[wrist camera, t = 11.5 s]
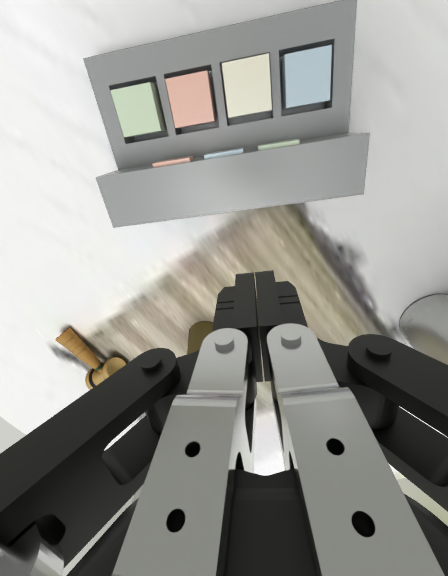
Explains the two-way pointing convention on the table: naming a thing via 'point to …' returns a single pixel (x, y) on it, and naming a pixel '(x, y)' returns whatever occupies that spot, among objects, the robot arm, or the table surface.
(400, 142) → the table surface
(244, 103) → the key cream
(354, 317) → the table surface
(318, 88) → the key blue
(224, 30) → the keypad
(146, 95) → the key sage
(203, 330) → the olive ball-ended cylinder
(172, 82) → the key coral
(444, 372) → the robot arm
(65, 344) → the kendama
